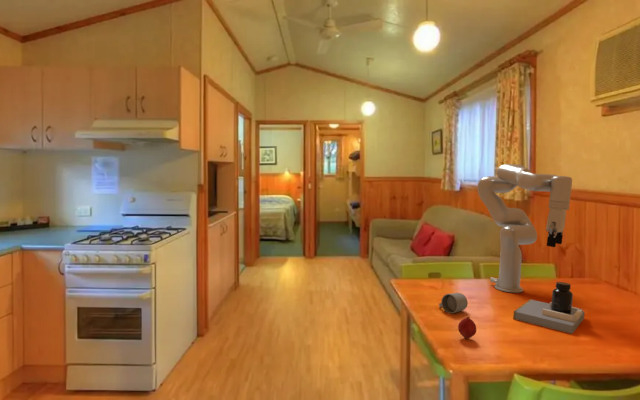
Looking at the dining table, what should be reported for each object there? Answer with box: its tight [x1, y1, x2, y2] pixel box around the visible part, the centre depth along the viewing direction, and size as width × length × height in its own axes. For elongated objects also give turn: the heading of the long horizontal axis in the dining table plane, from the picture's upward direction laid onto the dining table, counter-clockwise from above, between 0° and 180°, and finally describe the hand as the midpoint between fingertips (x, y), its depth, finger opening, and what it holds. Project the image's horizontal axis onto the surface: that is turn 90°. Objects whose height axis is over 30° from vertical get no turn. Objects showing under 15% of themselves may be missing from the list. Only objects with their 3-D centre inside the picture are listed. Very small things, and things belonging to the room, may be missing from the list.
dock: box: [513, 299, 585, 335], centre depth 163 cm, size 20×22×5 cm
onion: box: [457, 315, 477, 340], centre depth 140 cm, size 6×6×8 cm
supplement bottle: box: [551, 281, 574, 315], centre depth 160 cm, size 7×7×12 cm
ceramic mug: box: [438, 292, 469, 315], centre depth 169 cm, size 11×8×8 cm
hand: (554, 244), depth 177 cm, fingers open, 9 cm apart
